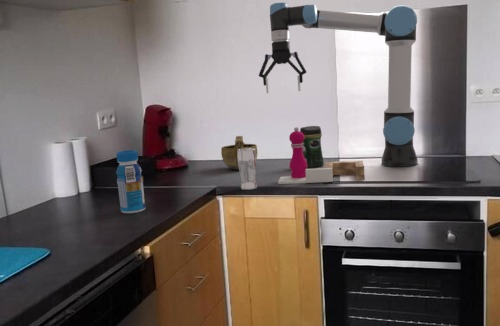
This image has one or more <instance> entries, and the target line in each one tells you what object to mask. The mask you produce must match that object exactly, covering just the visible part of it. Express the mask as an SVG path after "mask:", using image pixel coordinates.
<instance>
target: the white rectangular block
mask: <svg viewBox="0 0 500 326" xmlns="http://www.w3.org/2000/svg"><path fill="white" fill-rule="evenodd" d="M305 171H306V183H305V184H308V183H310V184H311V183H312V184H313V183H330V182H332V183H333V182H334V175H333V174H332V168H325V167H322V168H320V167H316V168H307V169H306V170H305Z"/></svg>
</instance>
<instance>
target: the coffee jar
mask: <svg viewBox="0 0 500 326" xmlns="http://www.w3.org/2000/svg"><path fill="white" fill-rule="evenodd" d="M299 129H300V130H299V131H300V132H302V133H303V134H304V141H303V155H304V158H305V159H306V162H307V169H315V168H320V167H323V166H324V165H325V162H324V156H323V151H322V144H321V143H322V142H321V141H322V140H321V139H322V135H323V133H322V129H321V126H320V125H319V126H318V125H308V126H304V127H300V128H299Z"/></svg>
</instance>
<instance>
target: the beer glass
mask: <svg viewBox="0 0 500 326" xmlns="http://www.w3.org/2000/svg"><path fill="white" fill-rule="evenodd" d="M238 166H239V170H238V171H239V174H240V179H241V185H240V189H241V190H243V191H250V190H255V189H257V188H258V185H257V182H256V169H257V159H256V154H255V148H243V149H238Z"/></svg>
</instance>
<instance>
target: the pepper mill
mask: <svg viewBox="0 0 500 326" xmlns="http://www.w3.org/2000/svg"><path fill="white" fill-rule="evenodd" d="M299 129H300V128H298V127H294V129H293V130H294V131H292V132H291V133H290V134H289V136H288V137H289V141H290V143H291V144H290V145H291V147H290V148H291V149H292V155H291V159H290V161H289V169H290V170H291V172H290V176H291V177H292V178H304V177H306V169H308V168H307V162H306V159H305V158H304V155H303V141H304V134H303V133H302V132H300V130H299Z"/></svg>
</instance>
